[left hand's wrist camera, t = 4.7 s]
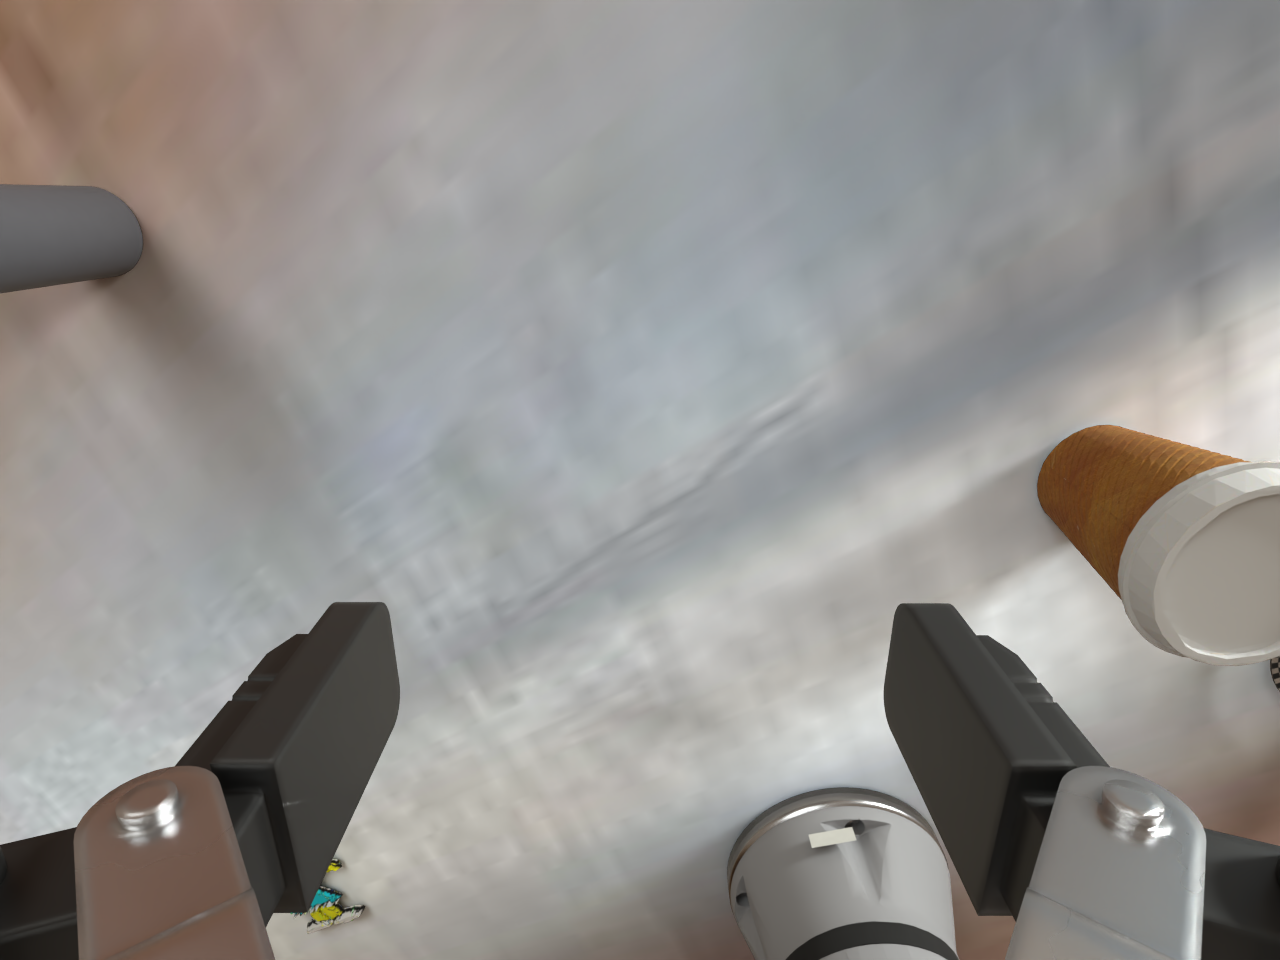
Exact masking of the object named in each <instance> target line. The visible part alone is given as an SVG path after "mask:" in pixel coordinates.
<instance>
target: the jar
mask: <svg viewBox="0 0 1280 960" xmlns="http://www.w3.org/2000/svg"><path fill="white" fill-rule="evenodd" d="M142 247H143V238H142V232H141V229H140V226H139V223H138V221H137V219H136V217H135V215H134V214H133V213H132V211H131V210H130V209H129V207H128V206H127V205H126V204H125V203H124V202H123V201H122V200H120V199H119V198H118V197H117V196H115V195H113V194H112V193H110V192H108V191H106V190H104V189H101V188H97V187H91V186H53V185H7V184H0V293H6V292H12V291H19V290H26V289H33V288H39V287H46V286H53V285H60V284H66V283H73V282H80V281H87V280H93V279H100V278H107V277H113V276H119V275H122V274H125V273H126V272H128V271H130V270H131V269H132V268H133V267H134V266H135V265H136V264H137V262H138V260H139V258H140V256H141V253H142Z"/></svg>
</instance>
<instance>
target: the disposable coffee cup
mask: <svg viewBox="0 0 1280 960" xmlns="http://www.w3.org/2000/svg"><path fill="white" fill-rule="evenodd" d="M1037 491H1038V498H1039V501H1040V503H1041V506H1042V508H1043V509H1044V511H1045V513H1046V514H1047V515H1048V516H1049V517H1050V518H1051V519H1052V520H1053V521H1054V522H1055V524H1056V525H1057V526H1058V527H1059V528H1060V529H1061V531H1062V532H1063V533H1064V534H1065V535H1066V536H1067V537H1068V539H1069V540H1070V541H1071V542H1072V543H1073V544H1074V546H1075V547H1076V548H1077V549H1078V550H1079V551H1080V553H1081V554H1082V555H1083V556H1084V557H1085V558H1086V560H1087V561H1088V562H1089V563H1090V564H1091V565H1092V567H1093V568H1094V569H1095V570H1096V571H1097V572H1098V574H1099V575H1100V576H1101V577H1102V578H1103V579H1104V580H1105V581H1106V582H1107V584H1108V585H1109V586H1110V587H1111V589H1112V590H1113V591H1114V592H1115V593H1116V594H1117V596H1118V597H1119V598H1120V599H1121V600H1122V603H1123V604H1124V608H1125V612H1126V614H1127V616H1128V617H1129V619H1130V621H1131V623H1132V624H1133V626H1134V627H1135V628H1136V629H1137V630H1138V632H1139V633H1140V634H1141V635H1142V636H1143V637H1144V638H1145V639H1146V640H1147V641H1149V642H1150V643H1152V644H1153V645H1154V646H1156V647H1158V648H1160V649H1162V650H1164V651H1166V652H1169V653H1172V654H1175V655H1178V656H1182V657H1189V658H1191V659H1193V660H1196V661H1199V662H1203V663H1207V664H1211V665H1218V666H1240V665H1247V664H1254V663H1259V662H1262V661H1266V660H1269V659H1272V658H1275V657H1278V656H1280V462H1271V461H1261V462H1249V461H1244V460H1242V459H1238V458H1232V457H1231V456H1226V455H1221V454H1219V453H1215V452H1210V451H1209V450H1204V449H1200V448H1197V447H1191V446H1190V445H1185V444H1181V443H1178V442H1173V441H1170V440H1167V439H1163V438H1159V437H1154V436H1152V435H1147V434H1145V433H1140V432H1137V431H1133V430H1129V429H1126V428H1122V427H1120V426H1113V425H1097V426H1093V427H1089V428H1085V429H1083V430H1081V431H1078V432H1076V433H1074V434H1072V435H1071V436H1069V437H1068V438H1066V439H1064V440H1063V441H1062V442H1061V443H1059V444H1058V445H1057V446H1056V447H1055V448H1054V449H1053V451H1052V452H1051V453H1050V454H1049V455H1048V457H1047V458H1046V460H1045V462H1044V463H1043V466H1042V468H1041V471H1040V474H1039V477H1038V483H1037Z"/></svg>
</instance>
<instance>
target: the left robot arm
mask: <svg viewBox="0 0 1280 960" xmlns="http://www.w3.org/2000/svg"><path fill="white" fill-rule="evenodd" d="M399 701H400V685H399V677H398V670H397V663H396V656H395V649H394V642H393V635H392V628H391V621H390V615H389V611H388V608H387V606H386V605H385V604H384V603H382V602H335V603H333V604H331V605H330V606H329V608H328V609H327V610H326V612H325V613H324V614H323V616H322V617H321V618H320V619H319V621H318V622H317V623H316V625H315V626H314V627H313V629H312V630H311V631H310V633H309V634H296V635H294V636H293V637H291V638H290V639H288V640H287V641H285V642H284V643H282V644H281V645H279V646H278V647H276V648H275V649H273V650H272V651H270V652H269V653H267V654H266V656H265V657H264V658H263V659H262V660H261V662H260V663H259V664H258V665H257V667H256V668H255V669H254V670H253V671H252V673H251V674H250V675H249V676H248V681H244V682H243V684H242V685H241V686H240V687H239V689H238V690H237V691H236V692H235V693H234V695H233V699H232V701H228V702H227V703H226V704H225V706H224V707H223V708H222V709H221V711H220V712H219V713H218V714H217V715H216V717H215V718H214V719H213V720H212V722H211V723H210V724H209V725H208V726H207V728H206V729H205V730H204V731H203V733H202V734H201V735H200V736H199V737H198V739H197V740H196V741H195V742H194V744H193V745H192V746H191V747H190V748H189V750H188V751H187V752H186V753H185V755H184V756H183V757H182V758H181V759H180V761H179V762H178V763H177V764H176V766H175V767H169V768H164V769H160V770H156V771H153V772H150V773H147V774H144V775H141V776H139V777H137V778H134V779H132V780H130V781H128V782H126V783H124V784H122V785H120V786H119V787H117V788H116V789H114V790H112V791H111V792H109V793H108V794H107V795H105V796H104V797H103V798H101V799H100V800H99V801H98V802H97V803H96V804H94V805H93V806H92V807H91V808H90V809H89V810H88V812H87V813H86V814H85V815H84V816H83V818H82V819H81V821H80V823H79V824H78V826H77V827H75V828H71V829H67V830H63V831H58V832H54V833H50V834H46V835H41V836H37V837H33V838H28V839H24V840H20V841H15V842H11V843H7V844H2V845H0V960H275V958H274V954H273V951H272V948H271V944H270V941H269V938H268V935H267V931H266V926H267V924H268V922H269V920H270V918H271V916H272V914H273V913H307V912H308V910H309V908H310V906H311V904H312V902H313V900H314V897H315V895H316V893H317V891H318V889H319V887H320V884H321V882H322V880H323V878H324V876H325V874H326V872H327V869H328V867H329V865H330V863H331V861H332V859H333V857H334V854H335V852H336V850H337V848H338V846H339V844H340V842H341V839H342V837H343V835H344V833H345V831H346V829H347V826H348V824H349V822H350V820H351V818H352V816H353V814H354V811H355V809H356V807H357V805H358V803H359V801H360V799H361V796H362V794H363V792H364V790H365V788H366V786H367V784H368V781H369V779H370V777H371V775H372V773H373V771H374V768H375V766H376V764H377V762H378V760H379V758H380V756H381V753H382V751H383V749H384V747H385V745H386V743H387V741H388V738H389V736H390V734H391V732H392V730H393V728H394V725H395V722H396V719H397V715H398V710H399ZM884 706H885V713H886V718H887V722H888V725H889V727H890V730H891V732H892V734H893V736H894V738H895V740H896V742H897V745H898V747H899V749H900V751H901V753H902V755H903V757H904V759H905V762H906V764H907V766H908V768H909V770H910V772H911V774H912V776H913V779H914V781H915V783H916V785H917V787H918V789H919V791H920V793H921V796H922V798H923V800H924V802H925V804H926V806H927V808H928V810H929V812H930V815H931V817H932V819H933V821H934V823H935V825H936V827H937V829H938V832H939V834H940V836H941V838H942V840H943V842H944V844H945V846H946V849H947V851H948V853H949V855H950V857H951V859H952V861H953V863H954V866H955V868H956V870H957V872H958V874H959V876H960V878H961V880H962V883H963V885H964V887H965V889H966V891H967V893H968V895H969V897H970V900H971V902H972V904H973V906H974V908H975V910H976V912H977V914H978V916H1013V917H1014V919H1015V921H1016V925H1015V928H1014V931H1013V935H1012V938H1011V941H1010V944H1009V948H1008V951H1007V954H1006V958H1005V960H1280V846H1277V845H1273V844H1268V843H1264V842H1260V841H1255V840H1251V839H1247V838H1242V837H1238V836H1234V835H1229V834H1225V833H1221V832H1217V831H1213V830H1209V829H1205V828H1203V826H1202V824H1201V823H1200V821H1199V819H1198V818H1197V816H1196V815H1195V814H1194V813H1193V812H1192V810H1191V809H1190V808H1189V807H1188V806H1187V805H1186V804H1184V803H1183V802H1182V801H1181V800H1180V799H1179V798H1177V797H1176V796H1175V795H1173V794H1172V793H1171V792H1169V791H1168V790H1166V789H1164V788H1163V787H1161V786H1160V785H1158V784H1156V783H1154V782H1152V781H1150V780H1148V779H1146V778H1143V777H1141V776H1139V775H1136V774H1133V773H1130V772H1127V771H1124V770H1120V769H1116V768H1111V767H1110V766H1109V765H1108V764H1107V763H1106V762H1105V760H1104V759H1103V758H1102V757H1101V756H1100V754H1099V753H1098V752H1097V751H1096V750H1095V748H1094V747H1093V746H1092V745H1091V743H1090V742H1089V741H1088V740H1087V739H1086V737H1085V736H1084V735H1083V734H1082V733H1081V731H1080V730H1079V729H1078V728H1077V727H1076V725H1075V724H1074V723H1073V722H1072V720H1071V719H1070V718H1069V717H1068V716H1067V714H1066V713H1065V712H1064V711H1063V710H1062V708H1061V707H1060V706H1059V705H1058V704H1057V703H1053V697H1052V696H1051V695H1050V694H1049V693H1048V691H1047V690H1046V689H1045V688H1044V687H1043V685H1042V684H1041V683H1037V678H1036V677H1035V676H1034V674H1033V673H1032V672H1031V671H1030V670H1029V668H1028V667H1027V666H1026V665H1025V664H1024V662H1023V661H1022V660H1021V659H1020V658H1019V656H1018V655H1016V654H1015V653H1013V652H1012V651H1010V650H1009V649H1007V648H1006V647H1004V646H1003V645H1001V644H1000V643H998V642H997V641H995V640H994V639H992V638H991V637H989V636H988V635H975V633H974V632H973V631H972V629H971V628H970V627H969V625H968V624H967V623H966V622H965V620H964V619H963V618H962V616H961V615H960V614H959V612H958V611H957V610H956V609H955V607H954V606H953V605H951V604H900V605H899V606H898V607H897V609H896V612H895V615H894V621H893V628H892V635H891V642H890V649H889V656H888V662H887V669H886V676H885V683H884Z"/></svg>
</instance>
